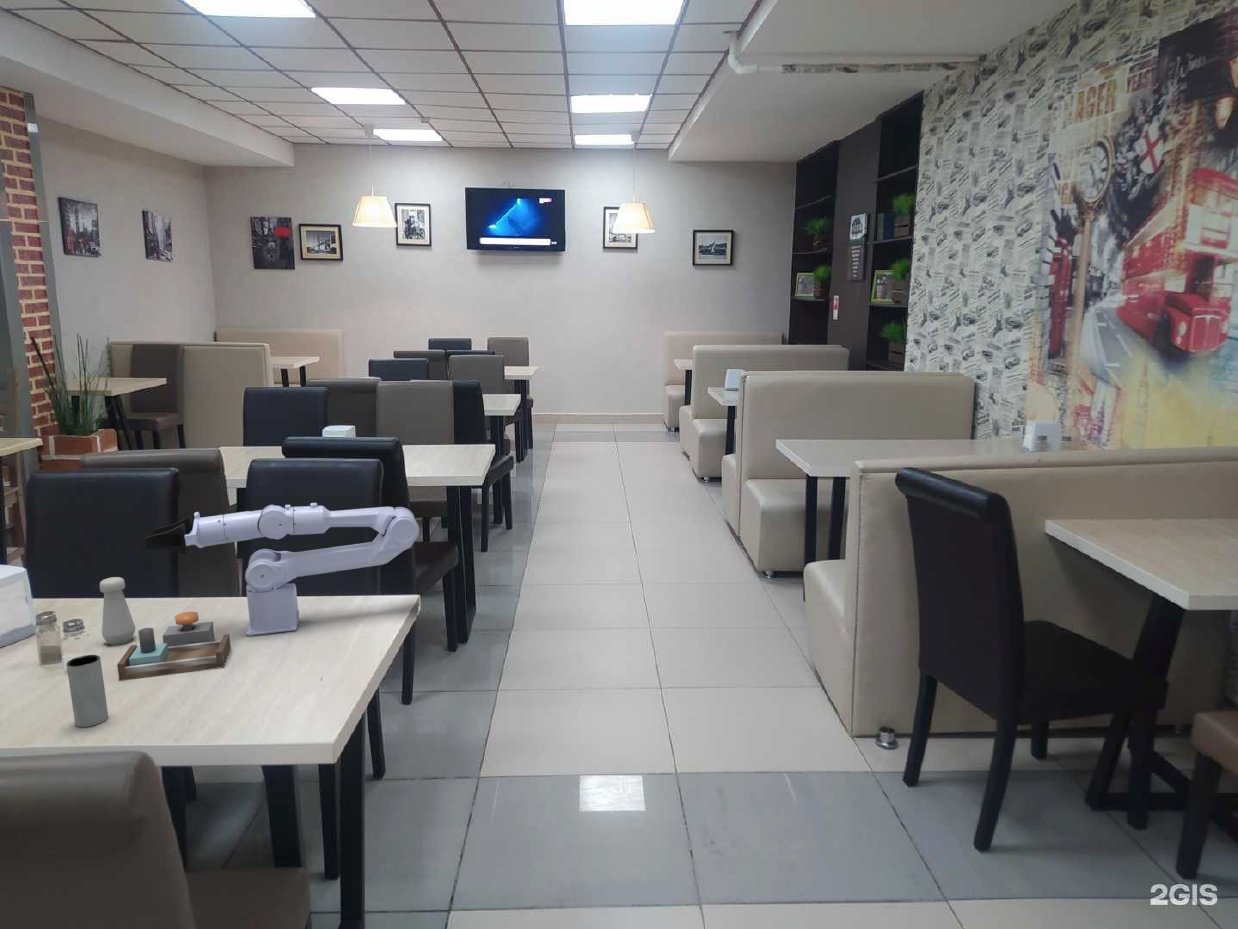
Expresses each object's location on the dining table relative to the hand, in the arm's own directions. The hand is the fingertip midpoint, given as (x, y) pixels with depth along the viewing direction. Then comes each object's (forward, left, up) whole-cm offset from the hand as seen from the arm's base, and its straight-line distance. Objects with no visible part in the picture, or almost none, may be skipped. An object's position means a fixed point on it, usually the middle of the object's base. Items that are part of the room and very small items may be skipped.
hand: (149, 539), depth 161 cm
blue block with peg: (-1, +13, -20) cm, 24 cm away
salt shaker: (+8, -3, -21) cm, 23 cm away
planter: (+3, +33, -21) cm, 39 cm away
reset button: (-6, +4, -19) cm, 20 cm away
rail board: (-5, +13, -21) cm, 25 cm away
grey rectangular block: (-6, +4, -21) cm, 22 cm away
